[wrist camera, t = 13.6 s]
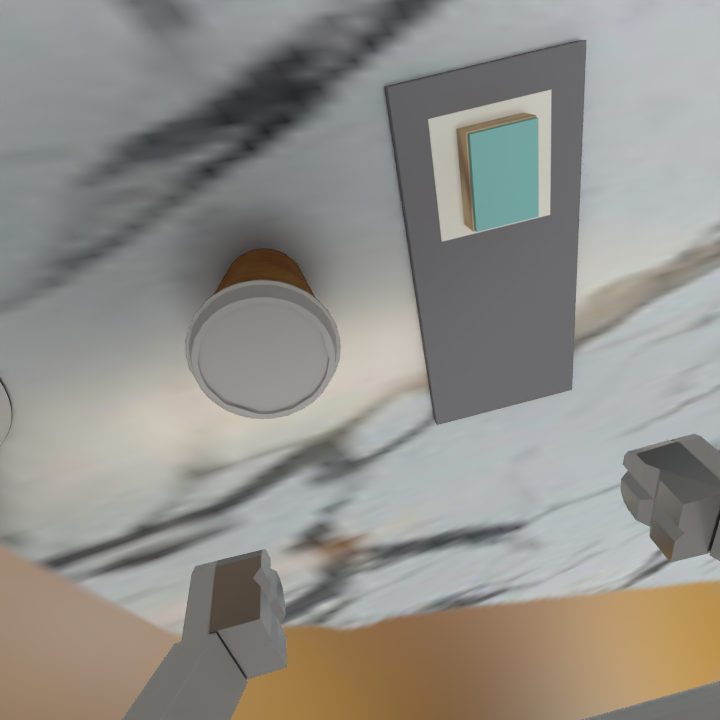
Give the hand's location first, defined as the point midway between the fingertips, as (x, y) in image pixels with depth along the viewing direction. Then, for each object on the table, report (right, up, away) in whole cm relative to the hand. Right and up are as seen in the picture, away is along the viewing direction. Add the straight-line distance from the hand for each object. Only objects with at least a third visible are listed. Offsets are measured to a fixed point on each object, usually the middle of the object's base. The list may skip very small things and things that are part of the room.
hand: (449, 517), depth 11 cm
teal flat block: (+8, +18, +26) cm, 33 cm away
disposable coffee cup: (-10, +10, +30) cm, 32 cm away
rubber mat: (+9, +12, +32) cm, 35 cm away
